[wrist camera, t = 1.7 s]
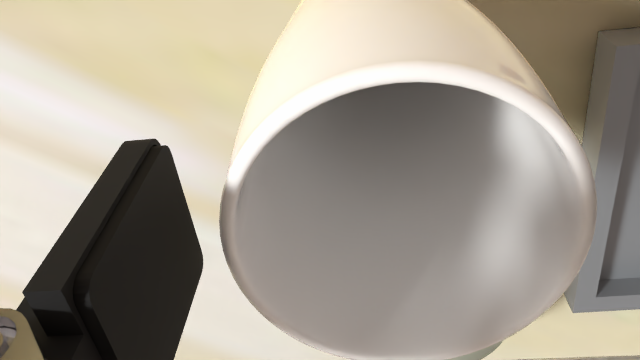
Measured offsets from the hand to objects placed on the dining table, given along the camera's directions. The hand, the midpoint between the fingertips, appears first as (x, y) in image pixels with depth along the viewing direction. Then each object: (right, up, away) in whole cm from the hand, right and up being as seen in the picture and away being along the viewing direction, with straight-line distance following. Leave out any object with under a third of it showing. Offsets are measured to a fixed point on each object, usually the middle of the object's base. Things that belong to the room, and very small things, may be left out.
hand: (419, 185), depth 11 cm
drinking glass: (0, +7, +12) cm, 14 cm away
